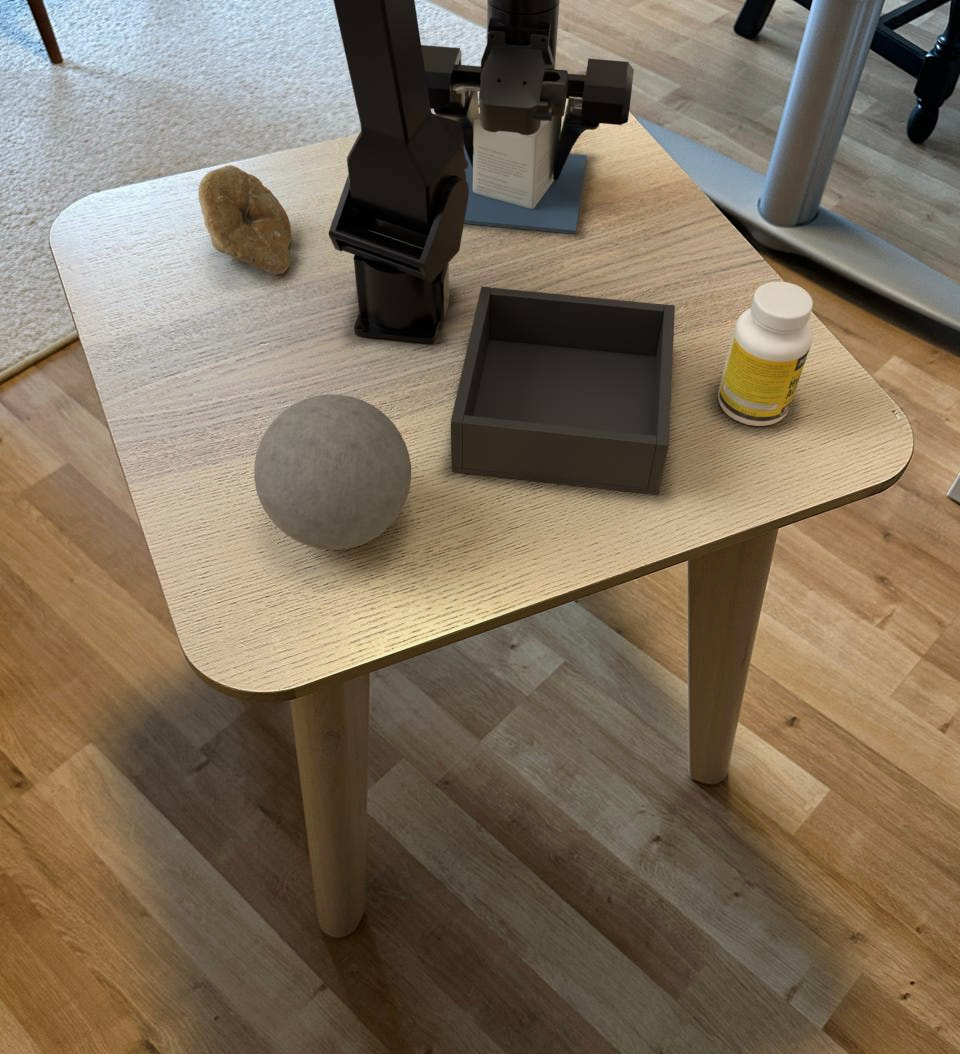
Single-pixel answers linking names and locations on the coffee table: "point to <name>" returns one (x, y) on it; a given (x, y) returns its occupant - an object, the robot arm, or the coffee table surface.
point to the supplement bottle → (767, 355)
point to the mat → (549, 213)
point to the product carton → (515, 163)
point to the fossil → (245, 219)
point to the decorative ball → (332, 472)
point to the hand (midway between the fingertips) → (516, 174)
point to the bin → (565, 391)
